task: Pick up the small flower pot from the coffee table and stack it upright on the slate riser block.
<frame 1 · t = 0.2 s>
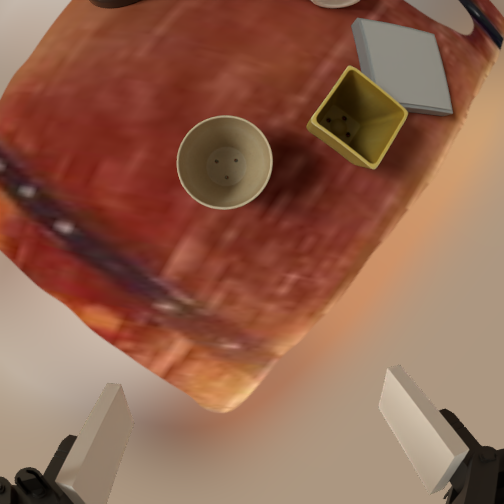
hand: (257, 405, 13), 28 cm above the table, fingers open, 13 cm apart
round planter pot: (226, 166, 37), on the table
flower pot: (336, 129, 37), on the table
slate riser: (400, 69, 35), on the table
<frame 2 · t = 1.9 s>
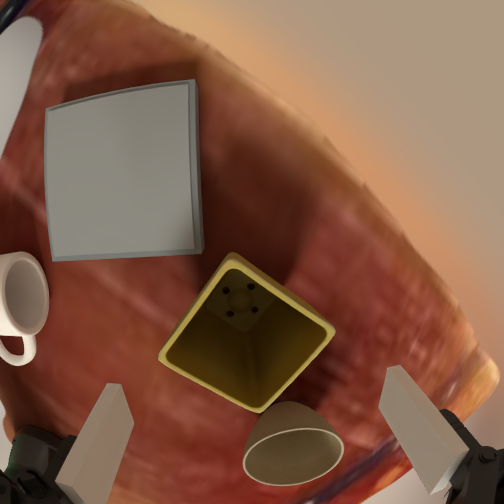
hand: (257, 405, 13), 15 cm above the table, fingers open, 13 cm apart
round planter pot: (283, 415, 31), on the table
flower pot: (241, 298, 28), on the table
slate riser: (123, 173, 24), on the table
mug: (22, 300, 26), on the table
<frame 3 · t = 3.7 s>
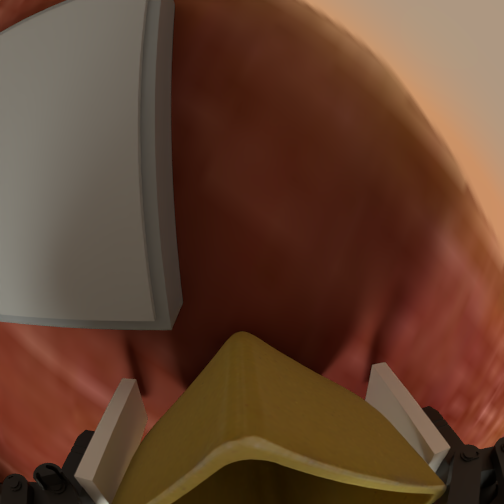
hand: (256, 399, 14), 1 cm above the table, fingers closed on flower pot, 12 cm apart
flower pot: (255, 387, 14), on the table, touching gripper
slate riser: (36, 162, 11), on the table
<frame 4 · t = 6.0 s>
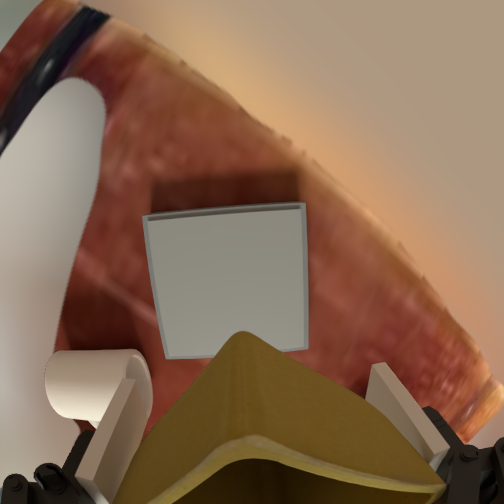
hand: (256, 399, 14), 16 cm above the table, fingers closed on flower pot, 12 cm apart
flower pot: (255, 387, 15), point 15 cm above the table, touching gripper
slate riser: (229, 279, 29), on the table
mug: (116, 379, 31), on the table
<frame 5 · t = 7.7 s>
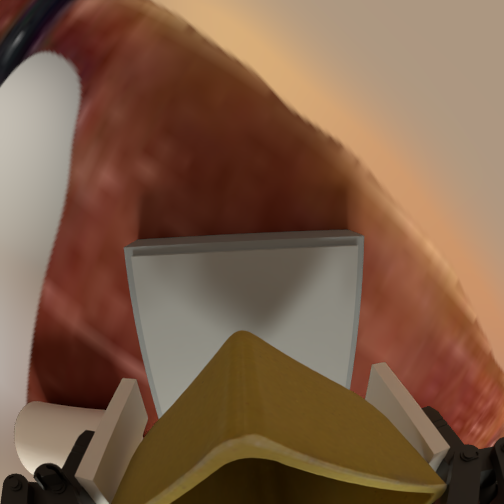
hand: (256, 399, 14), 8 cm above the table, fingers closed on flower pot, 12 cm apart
flower pot: (255, 386, 14), point 6 cm above the table, touching gripper
slate riser: (248, 332, 21), on the table
mug: (102, 434, 23), on the table
when the fingers open (5 cm above the table, at t = 8.8 s): flower pot drops 1 cm, resting on slate riser.
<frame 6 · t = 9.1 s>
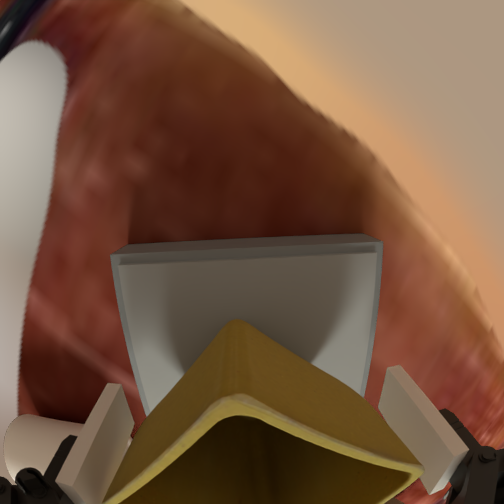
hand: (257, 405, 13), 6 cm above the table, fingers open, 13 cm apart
flower pot: (249, 374, 16), point 3 cm above the table, touching slate riser
slate riser: (251, 347, 19), on the table
mug: (96, 448, 21), on the table
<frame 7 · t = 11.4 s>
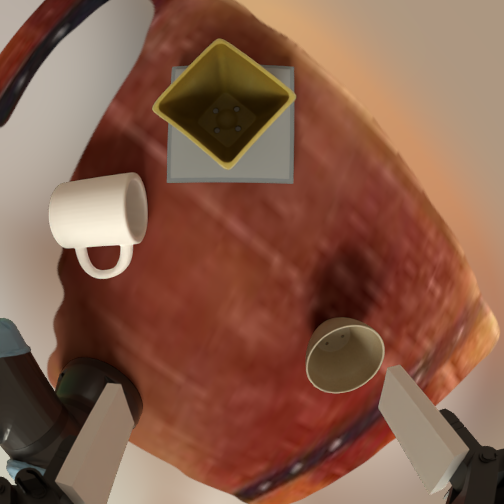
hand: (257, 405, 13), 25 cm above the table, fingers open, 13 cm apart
round planter pot: (331, 333, 40), on the table
flower pot: (228, 121, 31), point 3 cm above the table, touching slate riser
slate riser: (231, 124, 34), on the table
mug: (114, 223, 36), on the table
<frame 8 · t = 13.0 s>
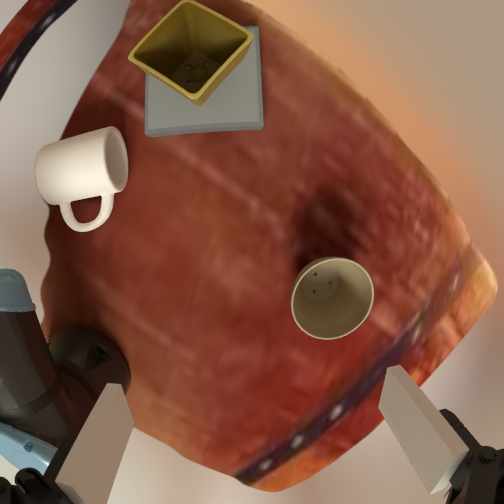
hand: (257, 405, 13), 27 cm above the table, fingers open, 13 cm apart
round planter pot: (318, 281, 40), on the table
flower pot: (199, 75, 31), point 3 cm above the table, touching slate riser
slate riser: (204, 81, 34), on the table
mug: (97, 182, 36), on the table
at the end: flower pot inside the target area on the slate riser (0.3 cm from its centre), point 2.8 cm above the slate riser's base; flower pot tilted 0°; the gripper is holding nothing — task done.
